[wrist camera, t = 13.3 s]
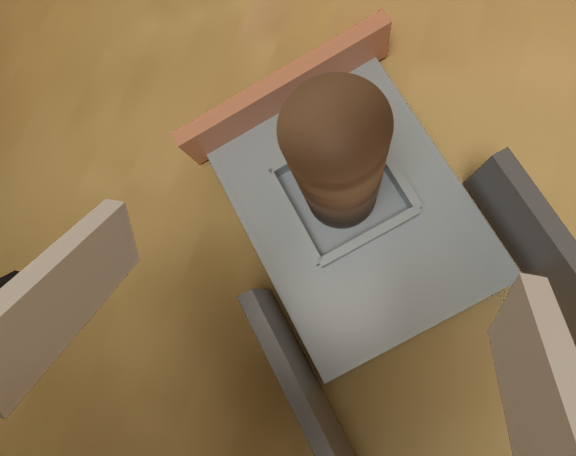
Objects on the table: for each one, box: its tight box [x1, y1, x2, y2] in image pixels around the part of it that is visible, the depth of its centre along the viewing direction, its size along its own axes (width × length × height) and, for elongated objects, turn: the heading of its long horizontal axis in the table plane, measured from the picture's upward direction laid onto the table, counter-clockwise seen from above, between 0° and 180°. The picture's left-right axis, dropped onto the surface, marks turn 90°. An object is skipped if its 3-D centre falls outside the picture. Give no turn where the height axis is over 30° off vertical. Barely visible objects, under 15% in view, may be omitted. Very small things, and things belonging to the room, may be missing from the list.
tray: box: [172, 9, 521, 384], centre depth 27 cm, size 20×17×4 cm
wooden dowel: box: [276, 72, 394, 229], centre depth 23 cm, size 5×5×12 cm
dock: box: [237, 147, 576, 456], centre depth 24 cm, size 20×18×6 cm
